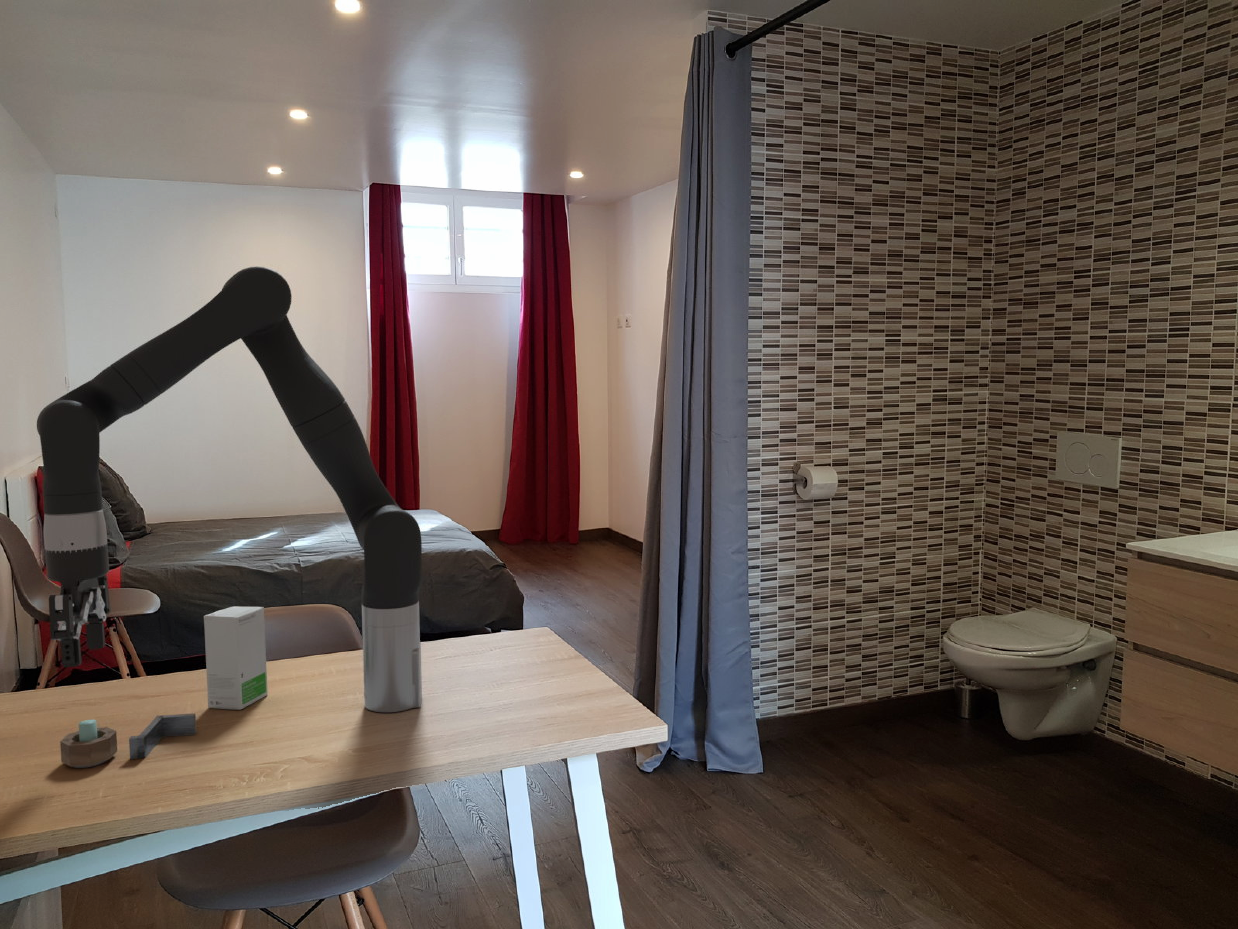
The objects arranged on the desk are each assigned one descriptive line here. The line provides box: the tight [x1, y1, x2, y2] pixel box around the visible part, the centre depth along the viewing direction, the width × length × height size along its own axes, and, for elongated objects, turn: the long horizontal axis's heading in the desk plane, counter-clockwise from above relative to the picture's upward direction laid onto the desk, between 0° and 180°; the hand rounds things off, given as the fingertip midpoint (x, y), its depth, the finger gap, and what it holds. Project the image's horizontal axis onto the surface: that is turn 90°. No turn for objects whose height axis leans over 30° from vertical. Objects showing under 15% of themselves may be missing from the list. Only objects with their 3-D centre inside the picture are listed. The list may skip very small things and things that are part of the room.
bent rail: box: [128, 713, 197, 760], centre depth 135 cm, size 6×9×3 cm
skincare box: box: [203, 605, 268, 711], centre depth 153 cm, size 8×7×16 cm
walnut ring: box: [59, 726, 118, 767], centre depth 130 cm, size 6×6×3 cm
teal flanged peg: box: [70, 719, 108, 769], centre depth 130 cm, size 5×5×6 cm
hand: (84, 657), depth 128 cm, fingers open, 8 cm apart
